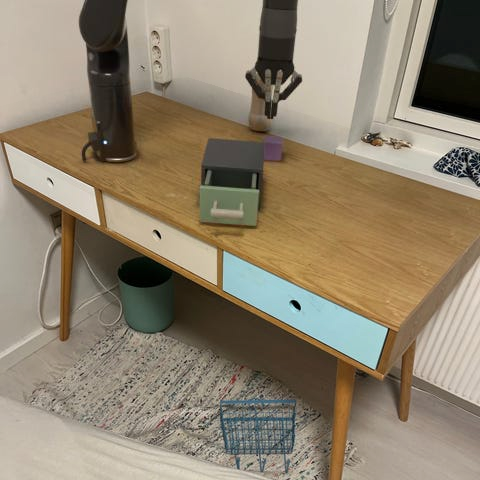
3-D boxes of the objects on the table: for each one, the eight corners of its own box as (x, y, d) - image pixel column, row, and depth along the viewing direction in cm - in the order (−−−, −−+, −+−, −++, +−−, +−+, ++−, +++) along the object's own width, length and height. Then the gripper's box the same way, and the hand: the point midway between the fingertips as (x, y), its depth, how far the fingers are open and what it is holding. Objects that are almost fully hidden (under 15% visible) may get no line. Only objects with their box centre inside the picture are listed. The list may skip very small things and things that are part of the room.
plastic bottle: (269, 135, 140) (276, 56, 127) (245, 132, 141) (250, 53, 128) (272, 127, 145) (279, 50, 132) (249, 124, 146) (254, 48, 133)
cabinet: (259, 210, 108) (263, 169, 102) (201, 205, 108) (201, 165, 102) (261, 180, 119) (264, 142, 113) (208, 176, 119) (208, 137, 113)
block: (280, 161, 128) (282, 143, 125) (263, 159, 128) (264, 142, 125) (280, 154, 131) (282, 136, 128) (263, 152, 131) (264, 135, 128)
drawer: (255, 239, 97) (258, 204, 92) (196, 234, 97) (196, 200, 92) (258, 194, 111) (260, 163, 106) (206, 191, 111) (206, 159, 106)
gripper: (309, 30, 106) (298, 114, 118) (246, 26, 107) (242, 110, 118) (310, 38, 101) (299, 126, 112) (244, 33, 101) (240, 121, 112)
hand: (270, 117), depth 115 cm, fingers closed
